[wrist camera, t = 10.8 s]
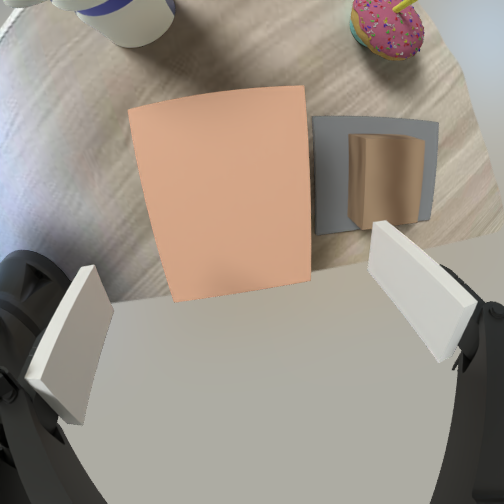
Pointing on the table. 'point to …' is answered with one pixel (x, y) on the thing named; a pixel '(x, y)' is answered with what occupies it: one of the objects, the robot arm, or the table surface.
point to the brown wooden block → (384, 178)
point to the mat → (337, 164)
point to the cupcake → (387, 27)
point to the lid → (227, 189)
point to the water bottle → (118, 17)
